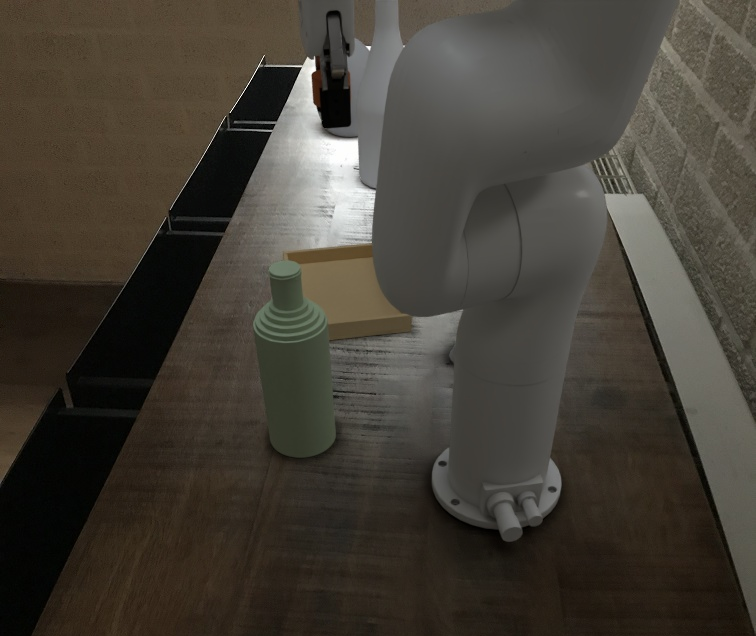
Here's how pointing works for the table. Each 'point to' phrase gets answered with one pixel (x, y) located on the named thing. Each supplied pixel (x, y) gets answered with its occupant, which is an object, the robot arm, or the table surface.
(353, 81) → the decorative egg
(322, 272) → the tray
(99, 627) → the table surface
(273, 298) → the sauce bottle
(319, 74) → the cap
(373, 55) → the wine bottle
